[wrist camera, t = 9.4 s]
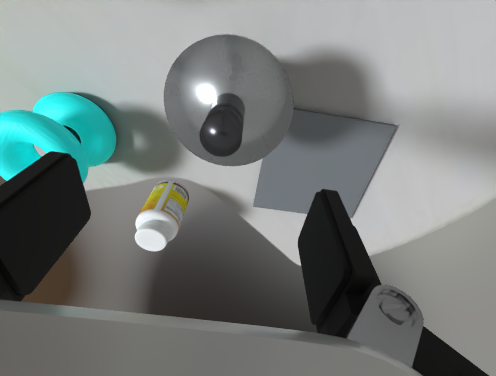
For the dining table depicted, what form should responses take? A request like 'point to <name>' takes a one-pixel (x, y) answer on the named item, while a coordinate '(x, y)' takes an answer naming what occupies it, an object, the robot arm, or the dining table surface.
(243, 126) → the lid
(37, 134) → the donuts
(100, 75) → the dining table surface
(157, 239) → the supplement bottle
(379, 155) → the mat
